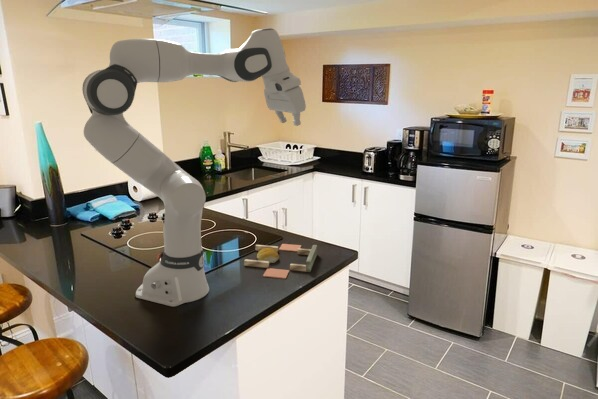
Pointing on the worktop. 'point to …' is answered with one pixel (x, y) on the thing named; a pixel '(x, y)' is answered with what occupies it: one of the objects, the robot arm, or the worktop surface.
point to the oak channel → (296, 267)
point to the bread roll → (268, 255)
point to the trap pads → (279, 272)
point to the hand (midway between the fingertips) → (290, 123)
